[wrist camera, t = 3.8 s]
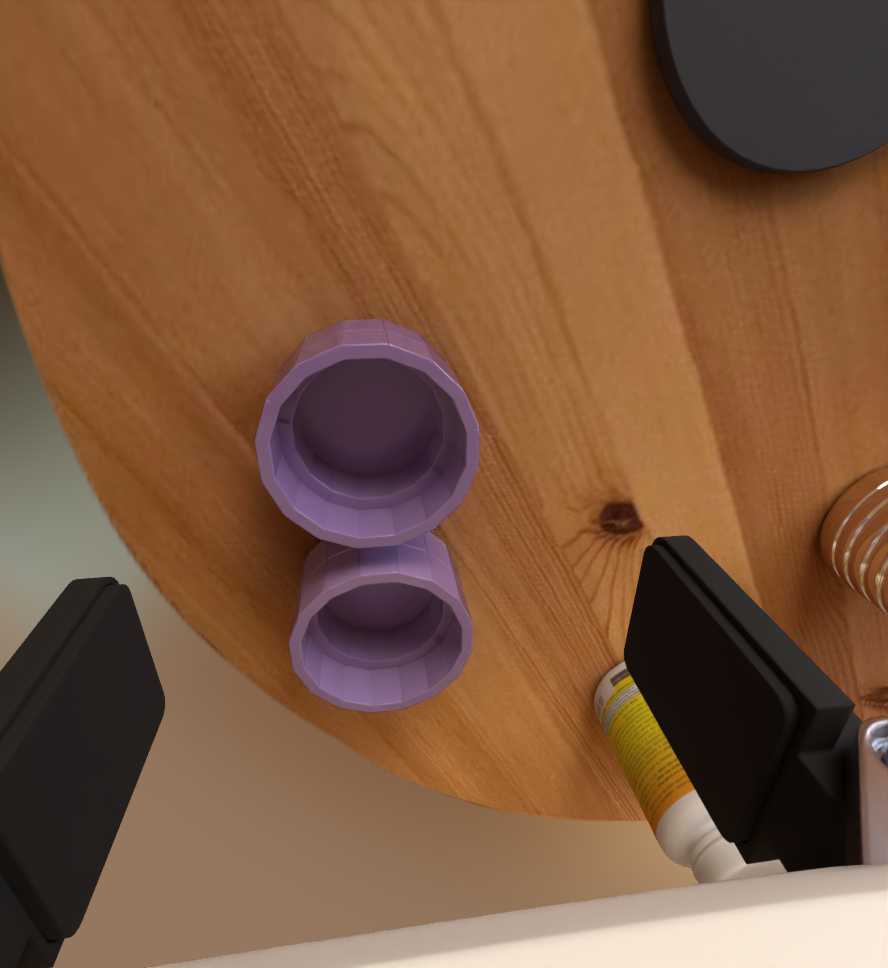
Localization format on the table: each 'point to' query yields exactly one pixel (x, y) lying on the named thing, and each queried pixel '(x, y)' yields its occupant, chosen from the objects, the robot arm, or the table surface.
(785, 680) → the robot arm
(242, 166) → the table surface
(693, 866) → the supplement bottle
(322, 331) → the dish
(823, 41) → the coaster
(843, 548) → the water bottle
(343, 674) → the dish
